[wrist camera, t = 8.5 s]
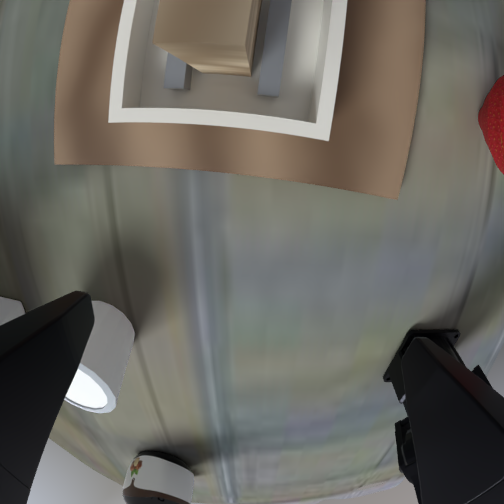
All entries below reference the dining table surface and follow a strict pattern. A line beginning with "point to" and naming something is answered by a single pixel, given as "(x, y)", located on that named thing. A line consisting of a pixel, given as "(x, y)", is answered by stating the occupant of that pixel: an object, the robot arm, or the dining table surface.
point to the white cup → (102, 361)
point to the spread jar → (158, 480)
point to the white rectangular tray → (231, 86)
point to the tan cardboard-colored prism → (210, 33)
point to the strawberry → (494, 122)
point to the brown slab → (249, 140)
